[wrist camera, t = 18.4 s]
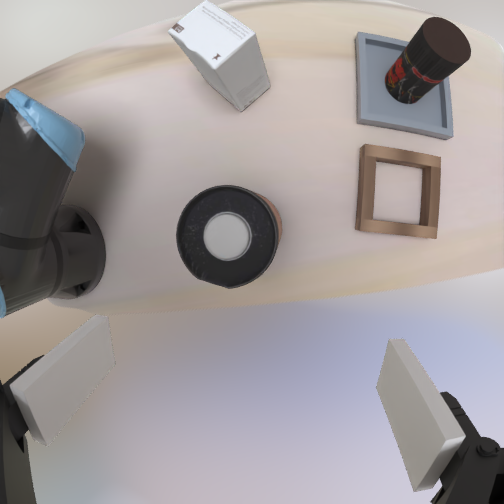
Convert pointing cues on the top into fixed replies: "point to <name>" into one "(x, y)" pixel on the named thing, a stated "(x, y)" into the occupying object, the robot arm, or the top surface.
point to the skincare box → (223, 53)
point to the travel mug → (228, 235)
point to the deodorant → (427, 60)
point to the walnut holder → (428, 199)
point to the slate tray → (384, 105)
